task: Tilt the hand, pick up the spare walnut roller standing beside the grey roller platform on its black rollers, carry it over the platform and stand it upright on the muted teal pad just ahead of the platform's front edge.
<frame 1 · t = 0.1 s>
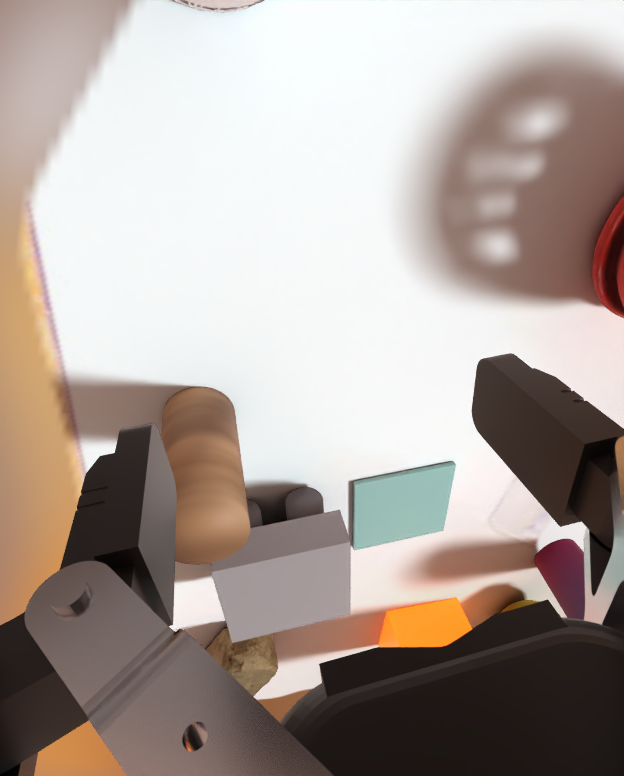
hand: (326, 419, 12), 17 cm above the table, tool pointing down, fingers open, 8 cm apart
cup: (553, 551, 54), on the table
stone block: (227, 646, 51), on the table
grey roller platform: (275, 532, 41), on the table
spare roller: (199, 415, 32), on the table
teal pad: (400, 506, 42), on the table
orange juice: (416, 619, 56), on the table
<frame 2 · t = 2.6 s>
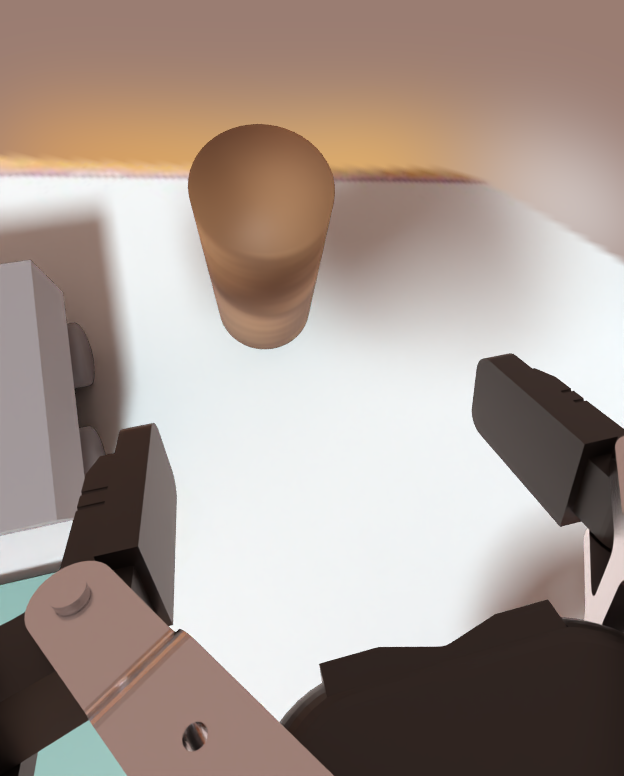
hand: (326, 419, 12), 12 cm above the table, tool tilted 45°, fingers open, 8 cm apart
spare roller: (264, 306, 25), on the table
teal pad: (11, 693, 20), on the table
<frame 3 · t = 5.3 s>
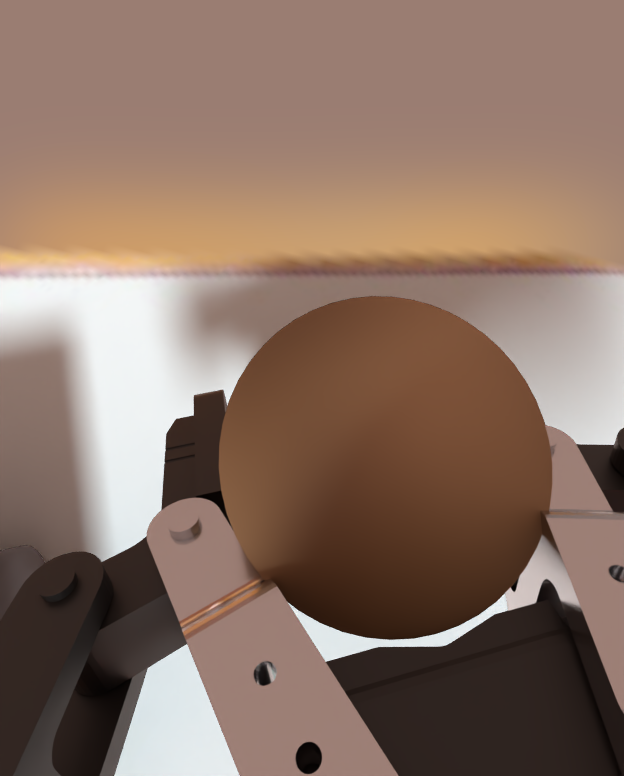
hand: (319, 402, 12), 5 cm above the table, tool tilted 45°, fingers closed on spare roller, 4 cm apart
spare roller: (316, 480, 16), on the table, touching gripper
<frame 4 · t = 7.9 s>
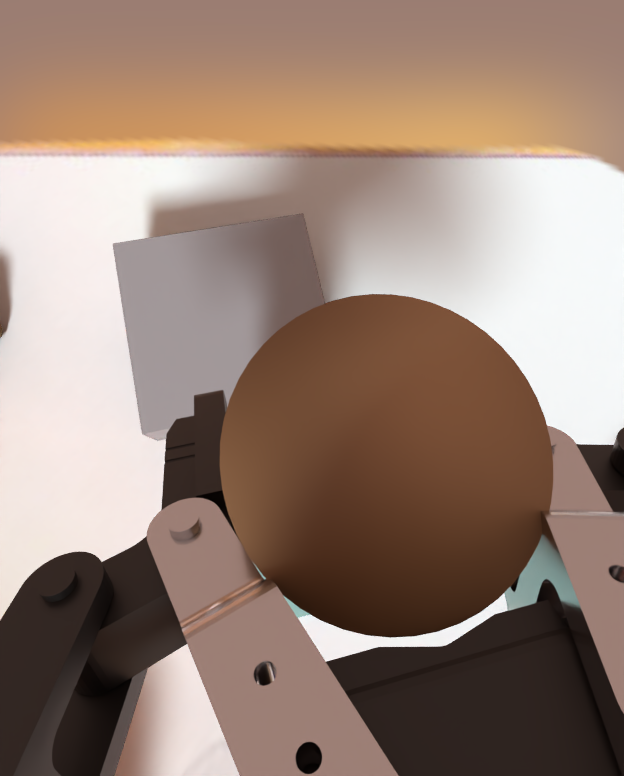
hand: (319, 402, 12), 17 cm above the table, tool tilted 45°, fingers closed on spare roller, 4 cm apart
grey roller platform: (237, 350, 29), on the table
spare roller: (317, 478, 16), point 12 cm above the table, touching gripper
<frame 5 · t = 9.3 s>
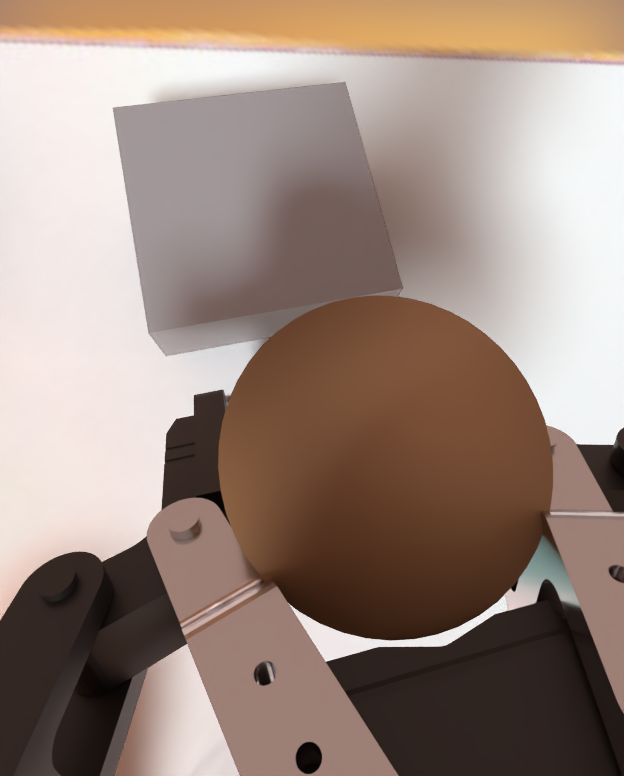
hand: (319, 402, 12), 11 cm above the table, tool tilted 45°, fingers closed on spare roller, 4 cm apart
grey roller platform: (258, 266, 25), on the table
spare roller: (317, 479, 16), point 6 cm above the table, touching gripper
when the fingers open (6 cm above the table, at t = 10.6 s): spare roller stays where it is, resting on teal pad.
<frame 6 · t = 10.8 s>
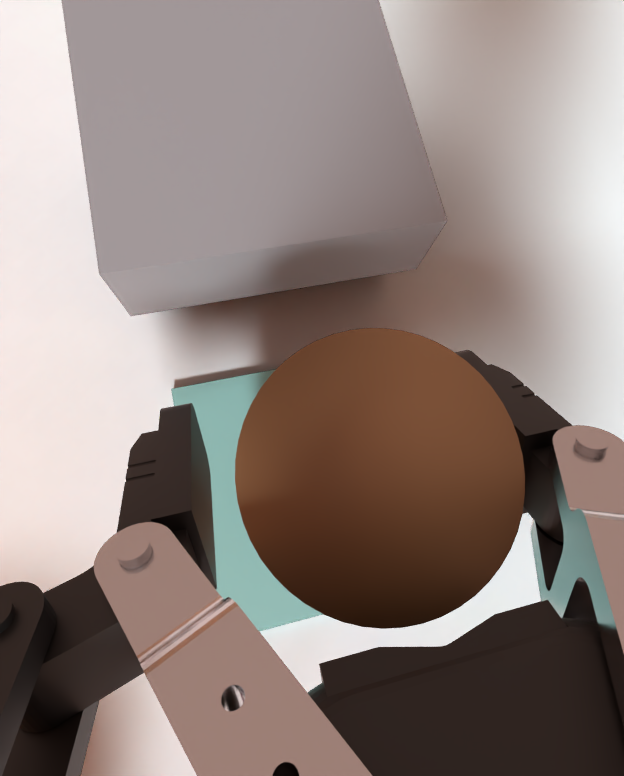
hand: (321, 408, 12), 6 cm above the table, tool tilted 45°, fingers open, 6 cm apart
grey roller platform: (254, 214, 20), on the table
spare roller: (316, 483, 17), resting on teal pad
teal pad: (312, 482, 18), on the table
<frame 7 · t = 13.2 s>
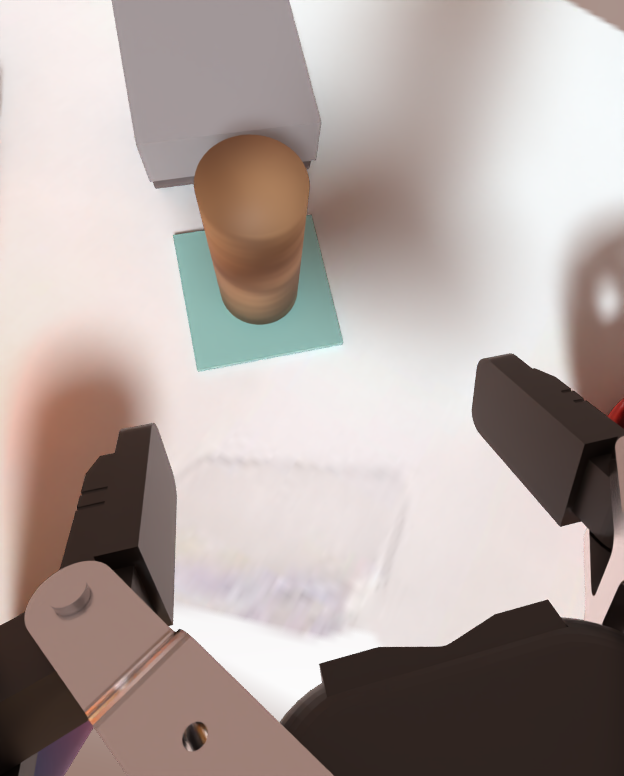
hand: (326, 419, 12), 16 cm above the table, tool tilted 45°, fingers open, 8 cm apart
cup: (63, 684, 24), on the table
grey roller platform: (224, 137, 32), on the table
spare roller: (259, 288, 29), resting on teal pad
teal pad: (257, 290, 30), on the table
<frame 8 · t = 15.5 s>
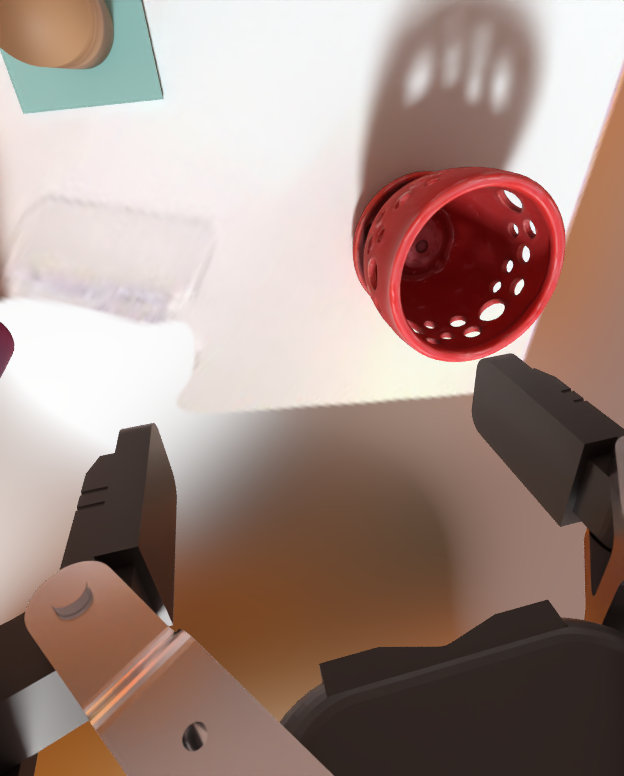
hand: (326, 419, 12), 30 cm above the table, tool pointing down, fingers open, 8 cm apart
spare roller: (71, 22, 29), resting on teal pad
teal pad: (71, 22, 29), on the table
plant pot: (410, 235, 41), on the table
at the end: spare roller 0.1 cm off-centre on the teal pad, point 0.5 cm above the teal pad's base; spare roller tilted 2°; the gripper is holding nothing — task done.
